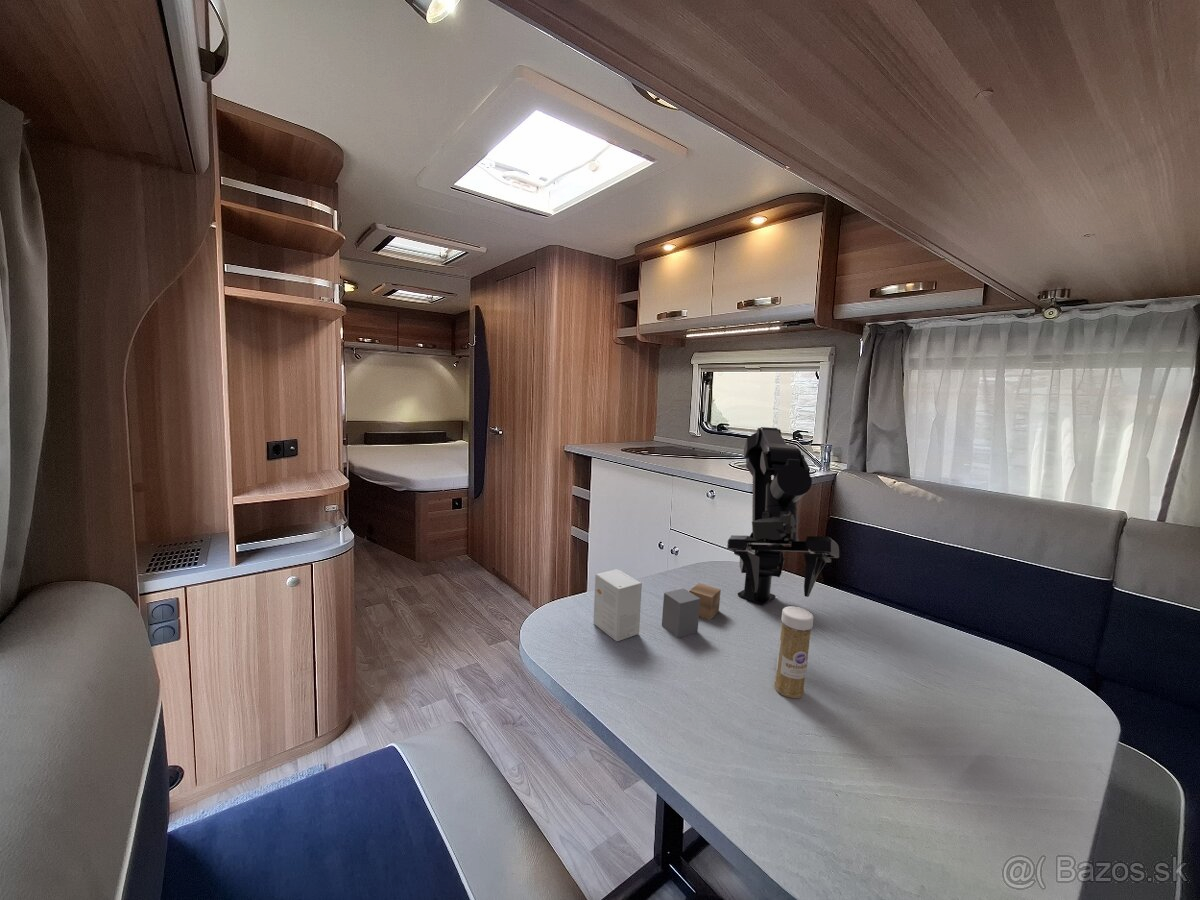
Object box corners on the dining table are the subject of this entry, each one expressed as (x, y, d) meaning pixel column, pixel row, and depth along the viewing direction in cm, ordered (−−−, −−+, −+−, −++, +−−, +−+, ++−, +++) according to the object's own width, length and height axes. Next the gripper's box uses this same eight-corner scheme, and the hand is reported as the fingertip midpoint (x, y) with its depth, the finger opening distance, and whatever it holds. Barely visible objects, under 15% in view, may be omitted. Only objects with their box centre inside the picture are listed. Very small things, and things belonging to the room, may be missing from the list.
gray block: (681, 620, 97) (683, 588, 96) (697, 632, 92) (700, 598, 91) (661, 625, 94) (664, 592, 93) (677, 637, 90) (680, 603, 89)
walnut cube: (697, 604, 104) (699, 582, 104) (718, 611, 102) (720, 589, 101) (687, 612, 100) (689, 590, 100) (709, 620, 97) (711, 597, 97)
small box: (639, 635, 90) (643, 583, 89) (616, 642, 87) (619, 589, 86) (615, 616, 97) (617, 568, 95) (592, 623, 94) (595, 573, 92)
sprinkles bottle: (788, 702, 73) (798, 621, 71) (767, 684, 77) (776, 607, 75) (810, 696, 75) (820, 616, 73) (788, 679, 79) (797, 603, 77)
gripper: (716, 500, 90) (711, 584, 85) (820, 495, 78) (821, 593, 73) (741, 514, 98) (737, 592, 92) (839, 512, 86) (841, 601, 81)
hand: (779, 594), depth 84 cm, fingers open, 9 cm apart
